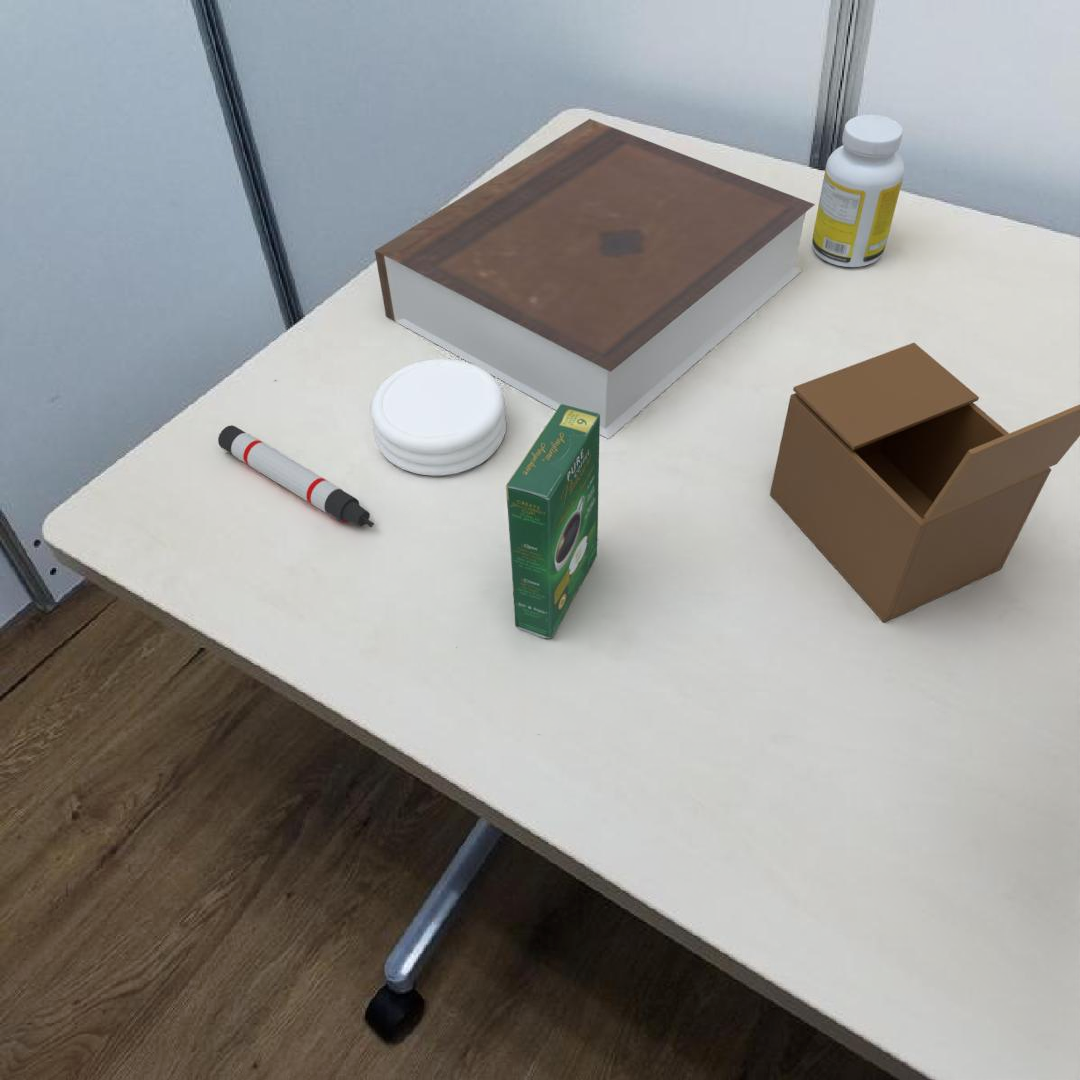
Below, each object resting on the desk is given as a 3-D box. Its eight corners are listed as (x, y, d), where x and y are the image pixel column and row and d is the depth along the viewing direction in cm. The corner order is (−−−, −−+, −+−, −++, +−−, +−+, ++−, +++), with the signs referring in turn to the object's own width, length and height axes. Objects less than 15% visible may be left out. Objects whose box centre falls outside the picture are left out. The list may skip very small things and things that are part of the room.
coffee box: (562, 541, 70) (559, 397, 60) (600, 553, 69) (604, 410, 60) (511, 627, 66) (500, 487, 56) (552, 642, 65) (547, 502, 55)
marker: (221, 453, 77) (214, 434, 75) (241, 439, 78) (234, 420, 76) (367, 544, 71) (362, 524, 69) (386, 526, 72) (382, 507, 70)
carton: (1001, 568, 68) (1056, 461, 60) (883, 622, 65) (924, 517, 57) (879, 450, 75) (914, 341, 68) (769, 494, 73) (792, 386, 65)
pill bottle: (887, 236, 94) (919, 114, 85) (878, 276, 90) (911, 152, 81) (816, 225, 95) (840, 104, 86) (804, 263, 91) (828, 141, 82)
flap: (1053, 460, 60) (1056, 464, 60) (923, 516, 58) (926, 520, 57) (1109, 391, 55) (1112, 396, 55) (968, 449, 52) (972, 454, 52)
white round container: (350, 453, 77) (342, 419, 74) (420, 376, 82) (415, 341, 80) (464, 496, 73) (460, 461, 71) (529, 412, 79) (527, 377, 76)
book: (386, 316, 88) (374, 250, 83) (589, 182, 101) (589, 118, 96) (608, 439, 77) (610, 371, 72) (802, 270, 90) (815, 204, 85)
